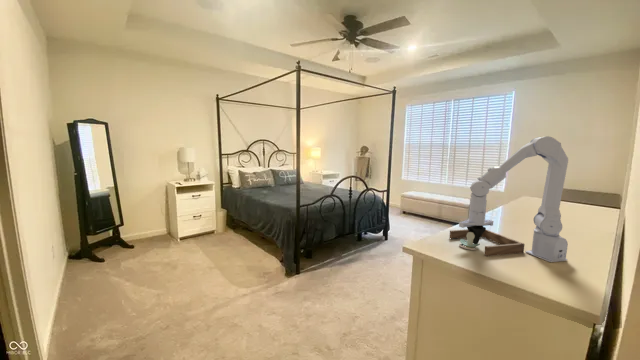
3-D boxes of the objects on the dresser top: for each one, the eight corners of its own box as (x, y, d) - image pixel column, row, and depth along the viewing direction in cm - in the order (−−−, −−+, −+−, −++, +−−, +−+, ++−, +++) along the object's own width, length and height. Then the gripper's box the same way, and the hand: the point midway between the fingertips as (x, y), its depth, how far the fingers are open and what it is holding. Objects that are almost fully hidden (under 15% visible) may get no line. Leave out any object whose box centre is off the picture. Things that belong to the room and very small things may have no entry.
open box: (523, 252, 105) (524, 243, 104) (486, 256, 101) (487, 247, 100) (481, 235, 124) (482, 228, 123) (449, 238, 120) (449, 230, 120)
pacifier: (474, 252, 105) (481, 248, 108) (476, 237, 104) (482, 233, 107) (455, 247, 110) (462, 243, 114) (456, 232, 109) (463, 228, 113)
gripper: (484, 207, 115) (481, 238, 117) (454, 209, 112) (452, 241, 113) (498, 211, 108) (495, 244, 110) (467, 213, 105) (464, 247, 107)
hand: (474, 243), depth 111 cm, fingers closed
